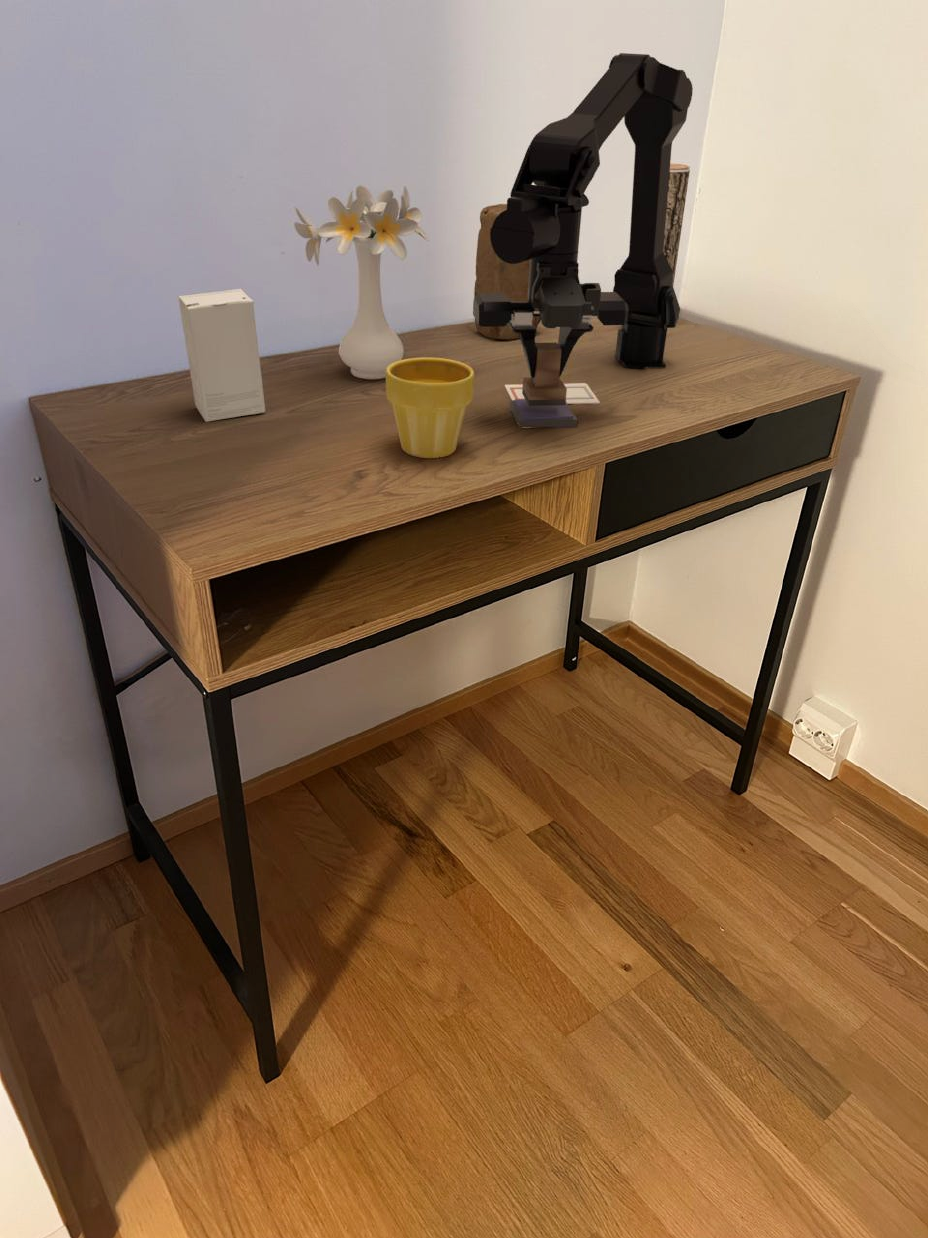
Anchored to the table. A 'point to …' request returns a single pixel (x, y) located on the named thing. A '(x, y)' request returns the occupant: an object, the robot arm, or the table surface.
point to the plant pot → (429, 403)
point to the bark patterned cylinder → (675, 212)
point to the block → (498, 274)
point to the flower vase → (367, 270)
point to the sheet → (573, 395)
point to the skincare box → (223, 353)
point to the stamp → (545, 378)
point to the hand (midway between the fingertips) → (545, 376)
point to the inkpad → (542, 415)
